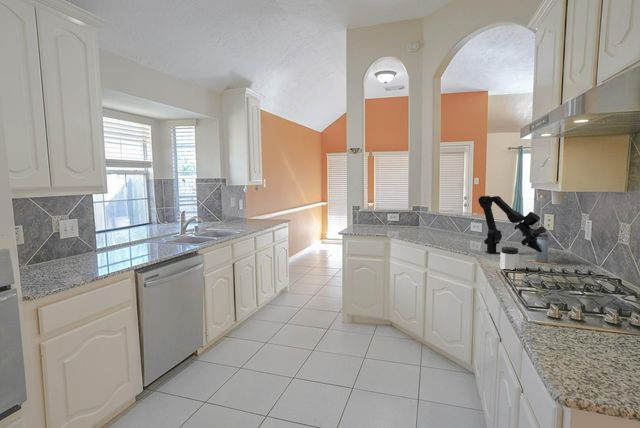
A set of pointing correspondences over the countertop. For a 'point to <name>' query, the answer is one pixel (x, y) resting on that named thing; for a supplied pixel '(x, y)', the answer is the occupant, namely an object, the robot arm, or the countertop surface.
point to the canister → (542, 249)
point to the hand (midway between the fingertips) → (544, 251)
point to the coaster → (541, 263)
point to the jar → (509, 258)
